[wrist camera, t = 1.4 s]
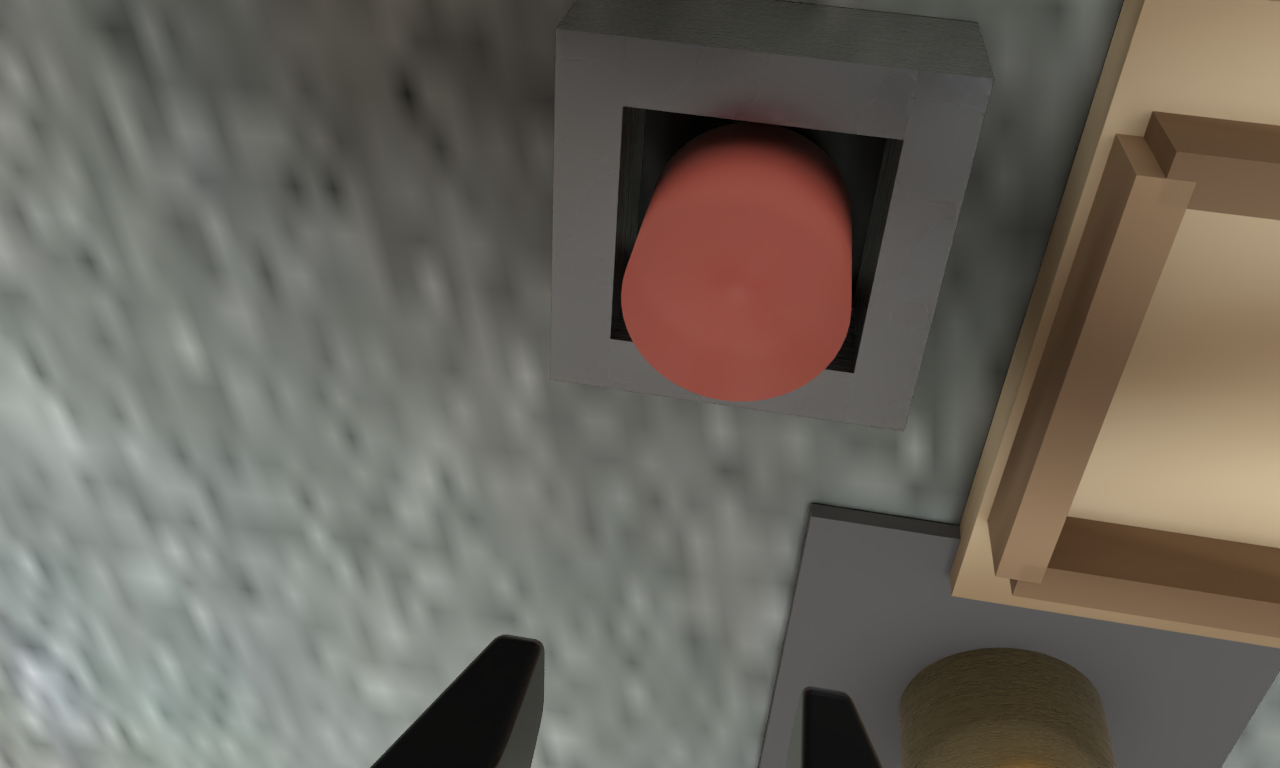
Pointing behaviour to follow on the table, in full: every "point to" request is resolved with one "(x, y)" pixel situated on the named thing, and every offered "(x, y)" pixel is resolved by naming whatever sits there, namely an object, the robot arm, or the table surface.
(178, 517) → the table surface
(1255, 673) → the mat
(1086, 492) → the tray
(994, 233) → the table surface
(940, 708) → the cylinder
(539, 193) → the table surface
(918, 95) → the button housing
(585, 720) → the table surface
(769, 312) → the button
